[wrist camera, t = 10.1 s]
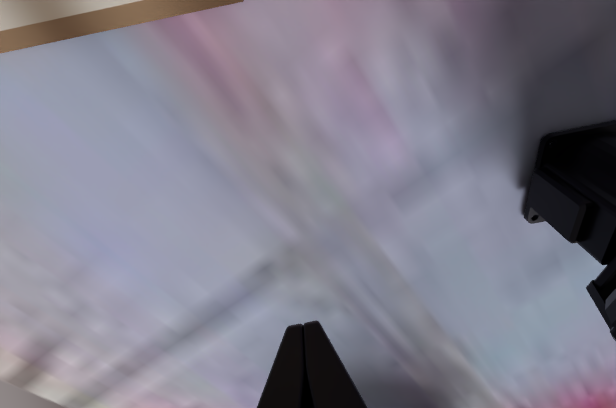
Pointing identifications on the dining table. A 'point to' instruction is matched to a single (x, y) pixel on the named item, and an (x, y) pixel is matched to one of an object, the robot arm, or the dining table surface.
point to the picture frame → (83, 17)
